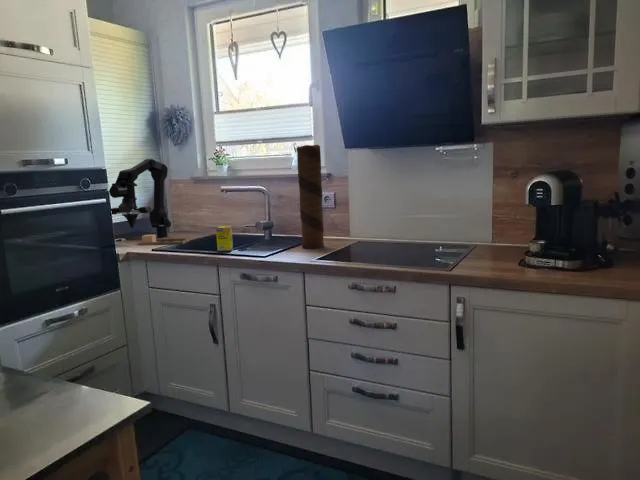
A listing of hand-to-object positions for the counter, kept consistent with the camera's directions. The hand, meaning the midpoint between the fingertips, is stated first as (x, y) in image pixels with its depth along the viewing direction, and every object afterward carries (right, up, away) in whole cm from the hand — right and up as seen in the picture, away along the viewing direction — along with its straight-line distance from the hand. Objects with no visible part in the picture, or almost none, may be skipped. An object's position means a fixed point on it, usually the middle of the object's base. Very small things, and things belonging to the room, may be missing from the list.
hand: (132, 227), depth 256 cm
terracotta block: (+8, -8, +1) cm, 11 cm away
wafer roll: (+90, -9, -23) cm, 93 cm away
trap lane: (+16, -8, 0) cm, 18 cm away
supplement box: (+50, -11, -25) cm, 57 cm away
